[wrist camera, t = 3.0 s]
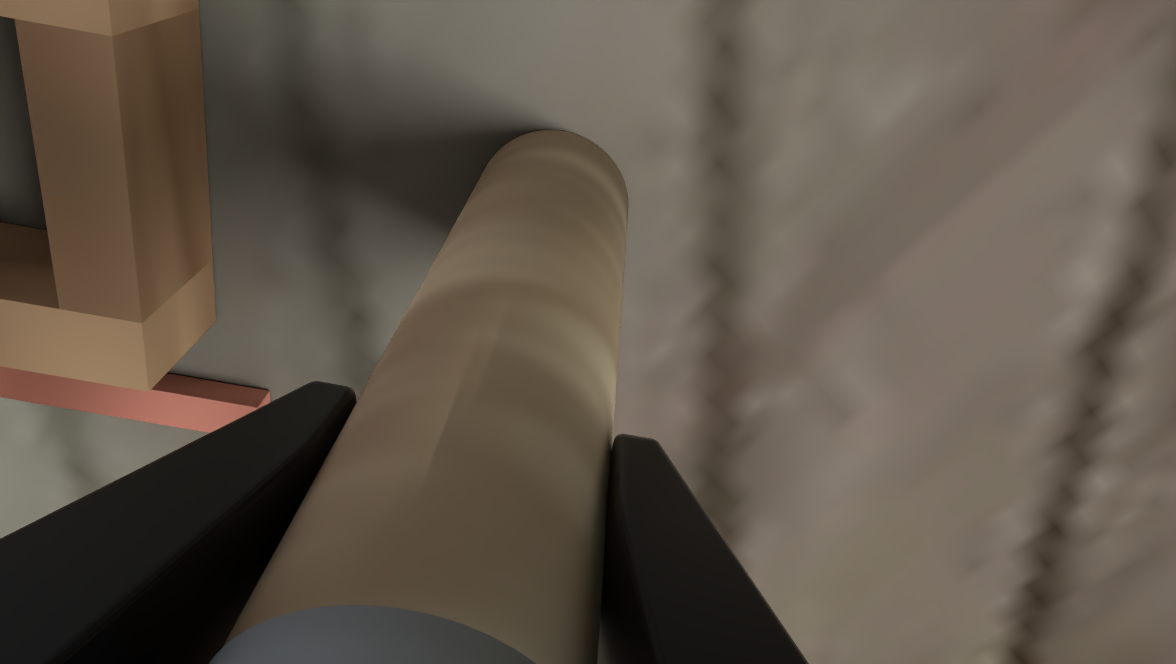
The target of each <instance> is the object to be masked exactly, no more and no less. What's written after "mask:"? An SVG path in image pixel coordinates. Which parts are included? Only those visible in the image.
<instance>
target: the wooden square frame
mask: <svg viewBox="0 0 1176 664" xmlns="http://www.w3.org/2000/svg"><path fill="white" fill-rule="evenodd" d="M0 16H2V17H8V18H13V19H14V20H15V26H16V33H17V39H18V46H19V52H20V58H21V65H22V71H23V78H24V84H25V91H26V97H27V104H28V110H29V116H30V123H31V129H32V136H33V142H34V149H35V155H36V162H37V168H38V174H39V181H40V187H41V194H42V200H43V207H44V213H45V219H46V226H47V230H42V229H37V228H31V227H25V226H19V225H14V224H8V223H2V222H0V397H4V398H10V399H15V400H21V401H27V402H33V403H39V404H45V405H51V406H56V407H62V408H68V409H74V410H80V411H86V412H92V413H97V414H103V415H109V416H115V417H121V418H127V419H132V420H138V421H144V422H150V423H156V424H162V425H168V426H173V427H179V428H185V429H191V430H197V431H203V432H209V433H211V432H213V431H215V430H217V429H219V428H221V427H223V426H225V425H227V424H229V423H231V422H233V421H235V420H237V419H239V418H241V417H243V416H245V415H247V414H249V413H251V412H253V411H255V410H257V409H258V408H260V407H262V406H264V405H266V404H268V403H270V391H267V390H261V389H256V388H250V387H244V386H238V385H232V384H226V383H221V382H215V381H209V380H203V379H197V378H192V377H186V376H180V375H174V374H168V373H167V372H168V371H169V370H170V369H171V368H172V367H173V366H174V365H175V364H176V363H177V362H178V361H179V360H180V359H181V357H182V356H183V355H184V354H185V353H186V352H187V351H188V350H189V349H190V348H191V347H192V346H193V345H194V344H195V343H196V342H197V341H198V340H199V339H200V338H201V337H202V335H203V334H204V333H205V332H206V331H207V330H208V329H209V328H210V327H211V326H212V325H213V324H214V323H215V322H216V307H215V288H214V270H213V252H212V234H211V216H210V198H209V179H208V161H207V143H206V125H205V107H204V89H203V70H202V52H201V34H200V16H199V0H0Z"/></svg>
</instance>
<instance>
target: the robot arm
mask: <svg viewBox="0 0 1176 664" xmlns="http://www.w3.org/2000/svg"><path fill="white" fill-rule="evenodd" d="M355 405H356V395H355V392H354V390H353V389H352V388H351V387H348V386H342V385H336V384H330V383H325V382H319V381H314V382H311V383H308V384H306V385H304V386H302V387H300V388H298V389H296V390H294V391H292V392H290V393H288V394H286V395H284V396H282V397H280V398H278V399H276V400H274V401H272V402H270V403H268V404H266V405H264V406H262V407H260V408H258V409H257V410H255V411H253V412H251V413H249V414H247V415H245V416H243V417H241V418H239V419H237V420H235V421H233V422H231V423H229V424H227V425H225V426H223V427H221V428H219V429H217V430H215V431H213V432H211V433H209V434H207V435H205V436H203V437H201V438H199V439H197V440H195V441H193V442H191V443H189V444H187V445H185V446H183V447H181V448H179V449H177V450H175V451H173V452H171V453H169V454H167V455H165V456H163V457H161V458H159V459H157V460H155V461H154V462H152V463H150V464H148V465H146V466H144V467H142V468H140V469H138V470H136V471H134V472H132V473H130V474H128V475H126V476H124V477H122V478H120V479H118V480H116V481H114V482H112V483H110V484H108V485H106V486H104V487H102V488H100V489H98V490H96V491H94V492H92V493H90V494H88V495H86V496H84V497H82V498H80V499H78V500H76V501H74V502H72V503H70V504H68V505H66V506H64V507H62V508H60V509H58V510H56V511H54V512H52V513H51V514H49V515H47V516H45V517H43V518H41V519H39V520H37V521H35V522H33V523H31V524H29V525H27V526H25V527H23V528H21V529H19V530H17V531H15V532H13V533H11V534H9V535H7V536H5V537H3V538H1V539H0V664H209V663H210V661H211V660H212V659H213V657H214V656H215V655H216V653H218V652H219V651H220V650H221V649H222V647H223V645H224V643H225V642H226V640H227V638H228V636H229V634H230V632H231V631H232V629H233V627H234V625H235V623H236V621H237V620H238V618H239V616H240V614H241V612H242V611H243V609H244V607H245V605H246V603H247V601H248V600H249V598H250V596H251V594H252V592H253V590H254V589H255V587H256V585H257V583H258V581H259V580H260V578H261V576H262V574H263V572H264V570H265V569H266V567H267V565H268V563H269V561H270V560H271V558H272V556H273V554H274V552H275V550H276V549H277V547H278V545H279V543H280V541H281V539H282V538H283V536H284V534H285V532H286V530H287V529H288V527H289V525H290V523H291V521H292V519H293V518H294V516H295V514H296V512H297V510H298V508H299V507H300V505H301V503H302V501H303V499H304V498H305V496H306V494H307V492H308V490H309V488H310V487H311V485H312V483H313V481H314V479H315V477H316V476H317V474H318V472H319V470H320V468H321V467H322V465H323V463H324V461H325V459H326V457H327V456H328V454H329V452H330V450H331V448H332V447H333V445H334V443H335V441H336V439H337V437H338V436H339V434H340V432H341V430H342V428H343V426H344V425H345V423H346V421H347V419H348V417H349V416H350V414H351V412H352V410H353V408H354V406H355ZM597 664H809V663H808V662H807V660H806V659H805V657H804V656H803V654H802V653H801V652H800V650H799V649H798V647H797V646H796V644H795V643H794V641H793V640H792V638H791V637H790V635H789V634H788V632H787V631H786V629H785V628H784V627H783V625H782V624H781V622H780V621H779V619H778V618H777V616H776V615H775V613H774V612H773V610H772V609H771V607H770V606H769V604H768V603H767V602H766V600H765V599H764V597H763V596H762V594H761V593H760V591H759V590H758V588H757V587H756V585H755V584H754V582H753V581H752V579H751V578H750V577H749V575H748V574H747V572H746V571H745V569H744V568H743V566H742V565H741V563H740V562H739V560H738V559H737V557H736V556H735V554H734V553H733V552H732V550H731V549H730V547H729V546H728V544H727V543H726V541H725V540H724V538H723V537H722V535H721V534H720V532H719V531H718V529H717V528H716V527H715V525H714V524H713V522H712V521H711V519H710V518H709V516H708V515H707V513H706V512H705V510H704V509H703V507H702V506H701V504H700V503H699V502H698V500H697V499H696V497H695V496H694V494H693V493H692V491H691V490H690V488H689V487H688V485H687V484H686V482H685V481H684V479H683V478H682V477H681V475H680V474H679V472H678V471H677V469H676V468H675V466H674V465H673V463H672V462H671V460H670V459H669V457H668V456H667V454H666V453H665V452H664V450H663V449H662V447H661V446H660V444H659V443H658V442H657V441H656V440H654V439H651V438H645V437H639V436H633V435H627V434H619V435H617V436H616V437H615V439H614V442H613V446H612V450H611V459H610V473H609V488H608V502H607V516H606V531H605V548H604V572H603V586H602V601H601V615H600V630H599V645H598V659H597Z"/></svg>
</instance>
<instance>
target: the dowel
mask: <svg viewBox="0 0 1176 664" xmlns="http://www.w3.org/2000/svg"><path fill="white" fill-rule="evenodd" d="M627 221H628V194H627V189H626V185H625V182H624V179H623V177H622V175H621V172H620V171H619V169H618V167H617V166H616V164H615V163H614V161H613V160H612V159H611V158H610V156H609V155H608V154H607V153H606V152H605V151H603V150H602V149H601V148H600V147H599V146H597V145H596V144H594V143H593V142H591V141H590V140H588V139H586V138H584V137H582V136H579V135H576V134H574V133H570V132H566V131H559V130H541V131H534V132H530V133H527V134H524V135H521V136H519V137H517V138H515V139H513V140H511V141H510V142H508V143H507V144H505V145H504V146H503V147H502V148H500V149H499V150H498V151H497V152H496V154H495V155H494V156H493V157H492V158H491V160H490V161H489V163H488V164H487V166H486V168H485V170H484V171H483V173H482V175H481V177H480V179H479V180H478V182H477V184H476V186H475V188H474V190H473V191H472V193H471V195H470V197H469V199H468V200H467V202H466V204H465V206H464V208H463V210H462V211H461V213H460V215H459V217H458V219H457V221H456V222H455V224H454V226H453V228H452V230H451V231H450V233H449V235H448V237H447V239H446V241H445V242H444V244H443V246H442V248H441V250H440V252H439V253H438V255H437V257H436V259H435V261H434V262H433V264H432V266H431V268H430V270H429V272H428V273H427V275H426V277H425V279H424V281H423V282H422V284H421V286H420V288H419V290H418V292H417V293H416V295H415V297H414V299H413V301H412V303H411V304H410V306H409V308H408V310H407V312H406V313H405V315H404V317H403V319H402V321H401V323H400V324H399V326H398V328H397V330H396V332H395V334H394V335H393V337H392V339H391V341H390V343H389V344H388V346H387V348H386V350H385V352H384V354H383V355H382V357H381V359H380V361H379V363H378V365H377V366H376V368H375V370H374V372H373V374H372V375H371V377H370V379H369V381H368V383H367V385H366V386H365V388H364V390H363V392H362V394H361V395H360V397H359V399H358V401H357V403H356V405H355V406H354V408H353V410H352V412H351V414H350V416H349V417H348V419H347V421H346V423H345V425H344V426H343V428H342V430H341V432H340V434H339V436H338V437H337V439H336V441H335V443H334V445H333V447H332V448H331V450H330V452H329V454H328V456H327V457H326V459H325V461H324V463H323V465H322V467H321V468H320V470H319V472H318V474H317V476H316V477H315V479H314V481H313V483H312V485H311V487H310V488H309V490H308V492H307V494H306V496H305V498H304V499H303V501H302V503H301V505H300V507H299V508H298V510H297V512H296V514H295V516H294V518H293V519H292V521H291V523H290V525H289V527H288V529H287V530H286V532H285V534H284V536H283V538H282V539H281V541H280V543H279V545H278V547H277V549H276V550H275V552H274V554H273V556H272V558H271V560H270V561H269V563H268V565H267V567H266V569H265V570H264V572H263V574H262V576H261V578H260V580H259V581H258V583H257V585H256V587H255V589H254V590H253V592H252V594H251V596H250V598H249V600H248V601H247V603H246V605H245V607H244V609H243V611H242V612H241V614H240V616H239V618H238V620H237V621H236V623H235V625H234V627H233V629H232V631H231V632H230V634H229V636H228V638H227V640H226V642H225V643H224V645H223V647H222V649H221V650H220V651H219V652H218V653H216V655H215V656H214V657H213V659H212V660H211V661H210V663H209V664H597V659H598V645H599V630H600V615H601V601H602V586H603V572H604V548H605V531H606V516H607V502H608V488H609V473H610V459H611V450H612V440H613V426H614V411H615V396H616V382H617V367H618V353H619V338H620V323H621V309H622V294H623V280H624V265H625V250H626V236H627Z"/></svg>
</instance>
